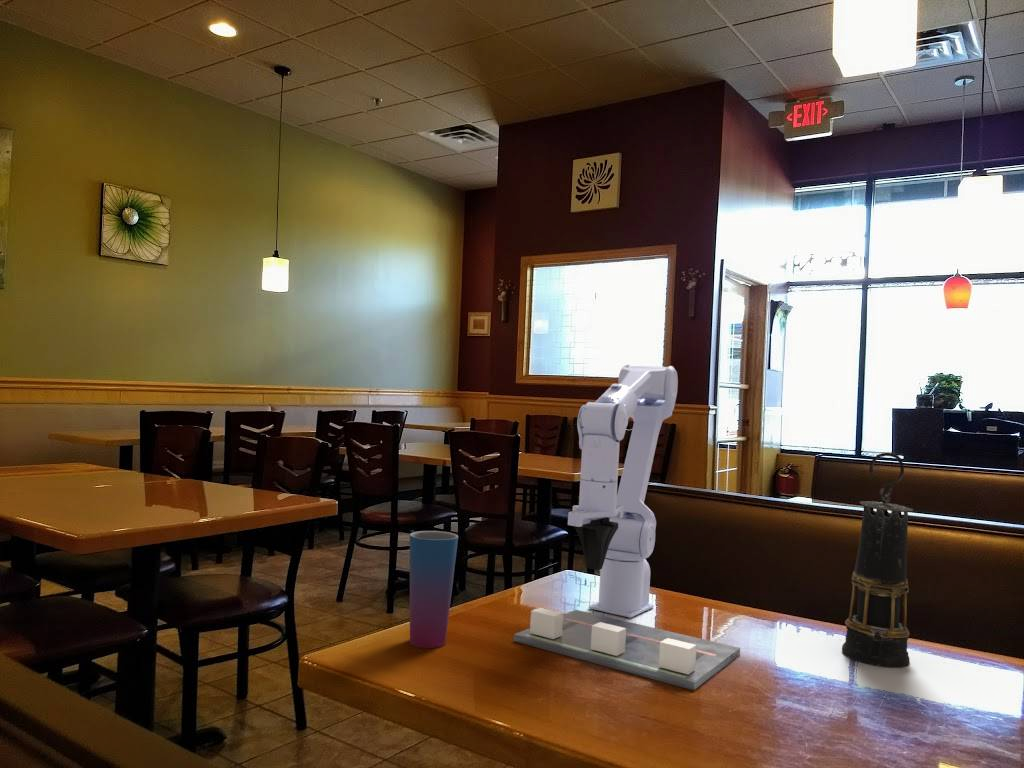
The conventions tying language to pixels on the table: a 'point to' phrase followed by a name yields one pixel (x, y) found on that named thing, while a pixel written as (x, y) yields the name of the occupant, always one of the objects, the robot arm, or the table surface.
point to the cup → (431, 586)
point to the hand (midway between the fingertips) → (594, 568)
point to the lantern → (880, 583)
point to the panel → (633, 649)
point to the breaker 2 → (677, 656)
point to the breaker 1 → (546, 623)
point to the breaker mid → (608, 638)
